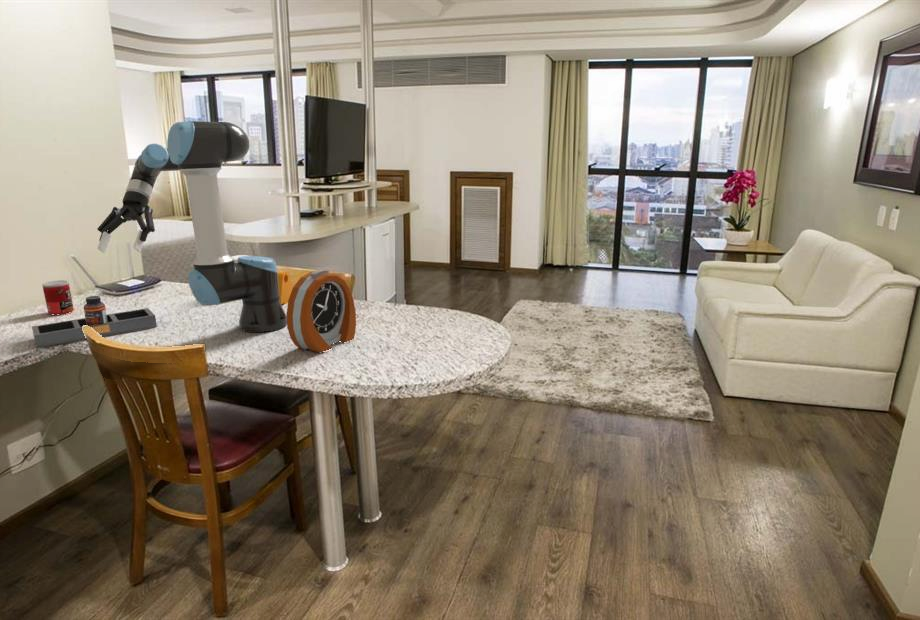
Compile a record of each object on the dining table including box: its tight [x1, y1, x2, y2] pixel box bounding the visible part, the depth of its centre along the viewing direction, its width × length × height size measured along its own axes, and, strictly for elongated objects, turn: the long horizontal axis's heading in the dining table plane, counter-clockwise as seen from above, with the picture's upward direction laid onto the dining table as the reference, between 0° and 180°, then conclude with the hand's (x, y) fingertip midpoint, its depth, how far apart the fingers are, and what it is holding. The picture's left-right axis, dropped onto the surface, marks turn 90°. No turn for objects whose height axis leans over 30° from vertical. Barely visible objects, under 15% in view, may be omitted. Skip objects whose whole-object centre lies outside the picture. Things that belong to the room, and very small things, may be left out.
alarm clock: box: [286, 269, 357, 353], centre depth 178 cm, size 22×10×23 cm, turn 151°
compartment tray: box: [31, 307, 158, 349], centre depth 192 cm, size 11×33×4 cm, turn 127°
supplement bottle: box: [83, 295, 108, 326], centre depth 190 cm, size 6×6×11 cm
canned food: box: [41, 279, 75, 316], centre depth 213 cm, size 8×8×11 cm
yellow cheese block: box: [277, 270, 294, 305], centre depth 225 cm, size 11×7×12 cm, turn 169°
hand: (118, 250), depth 197 cm, fingers open, 13 cm apart
